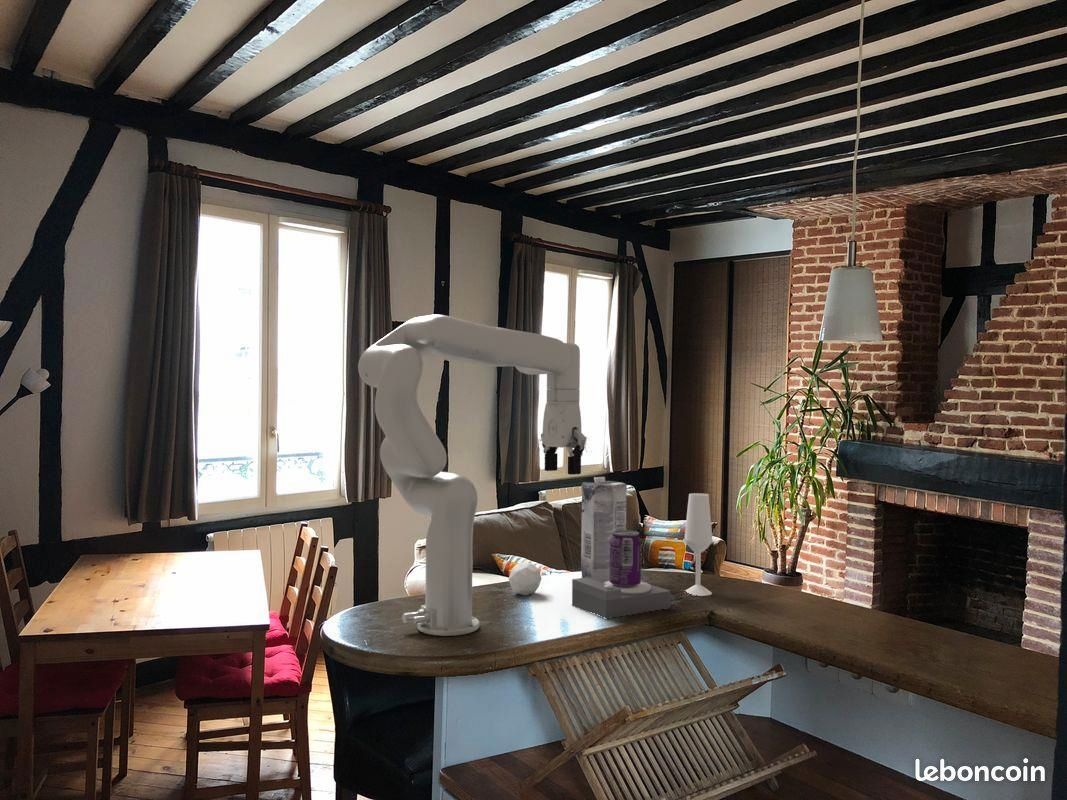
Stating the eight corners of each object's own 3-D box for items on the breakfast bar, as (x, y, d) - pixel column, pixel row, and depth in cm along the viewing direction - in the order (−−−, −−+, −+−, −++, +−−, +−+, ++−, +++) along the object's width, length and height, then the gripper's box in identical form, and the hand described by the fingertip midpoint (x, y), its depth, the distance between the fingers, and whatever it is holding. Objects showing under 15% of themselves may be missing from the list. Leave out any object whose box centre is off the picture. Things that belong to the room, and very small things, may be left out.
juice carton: (630, 583, 204) (631, 478, 204) (597, 588, 199) (598, 479, 199) (609, 576, 212) (610, 475, 212) (576, 581, 206) (577, 476, 206)
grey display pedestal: (605, 619, 170) (606, 588, 170) (572, 605, 182) (572, 576, 182) (670, 608, 180) (670, 579, 180) (634, 596, 191) (634, 568, 191)
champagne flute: (679, 592, 195) (680, 494, 195) (691, 587, 200) (692, 492, 200) (704, 597, 191) (705, 496, 190) (716, 591, 196) (717, 494, 196)
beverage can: (646, 584, 182) (647, 532, 182) (628, 590, 176) (629, 536, 176) (621, 579, 186) (621, 528, 186) (603, 585, 181) (603, 532, 181)
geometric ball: (528, 603, 194) (545, 575, 197) (531, 599, 186) (548, 570, 189) (502, 586, 195) (519, 558, 198) (503, 582, 187) (521, 553, 190)
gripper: (529, 397, 187) (528, 470, 187) (570, 397, 173) (569, 476, 173) (556, 397, 191) (555, 468, 191) (598, 397, 176) (597, 475, 176)
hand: (562, 472), depth 182 cm, fingers open, 9 cm apart
